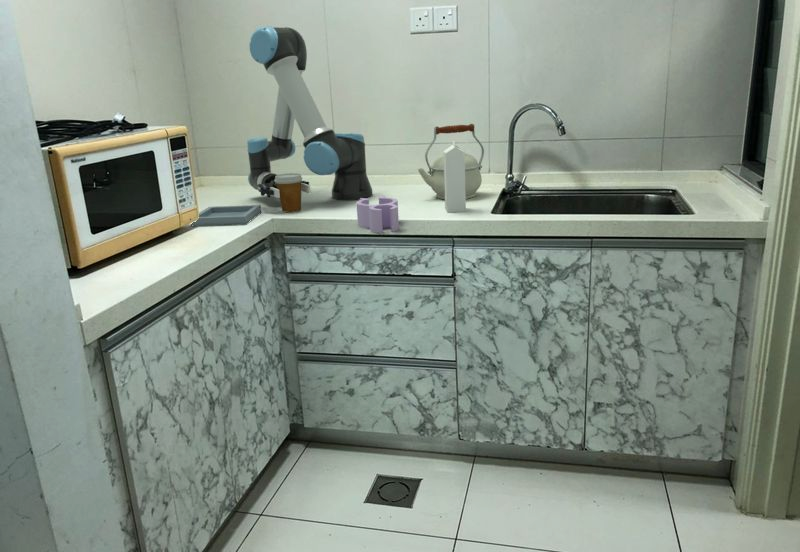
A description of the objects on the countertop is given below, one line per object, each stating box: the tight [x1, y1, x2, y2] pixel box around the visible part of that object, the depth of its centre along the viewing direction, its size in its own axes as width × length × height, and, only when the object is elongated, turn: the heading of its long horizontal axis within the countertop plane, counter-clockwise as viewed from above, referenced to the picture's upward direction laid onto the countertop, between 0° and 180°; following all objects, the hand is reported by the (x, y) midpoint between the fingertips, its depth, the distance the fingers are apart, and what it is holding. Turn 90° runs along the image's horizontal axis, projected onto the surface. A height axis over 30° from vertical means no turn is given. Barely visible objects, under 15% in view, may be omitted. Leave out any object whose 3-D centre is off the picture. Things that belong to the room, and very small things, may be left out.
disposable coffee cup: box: [274, 172, 303, 213], centre depth 224 cm, size 10×10×12 cm
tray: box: [190, 204, 262, 227], centre depth 216 cm, size 18×18×3 cm
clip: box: [355, 195, 400, 234], centre depth 197 cm, size 20×12×7 cm, turn 14°
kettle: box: [417, 123, 485, 201], centre depth 231 cm, size 25×18×25 cm
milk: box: [443, 140, 467, 213], centre depth 209 cm, size 6×6×22 cm
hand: (294, 191), depth 220 cm, fingers open, 10 cm apart
